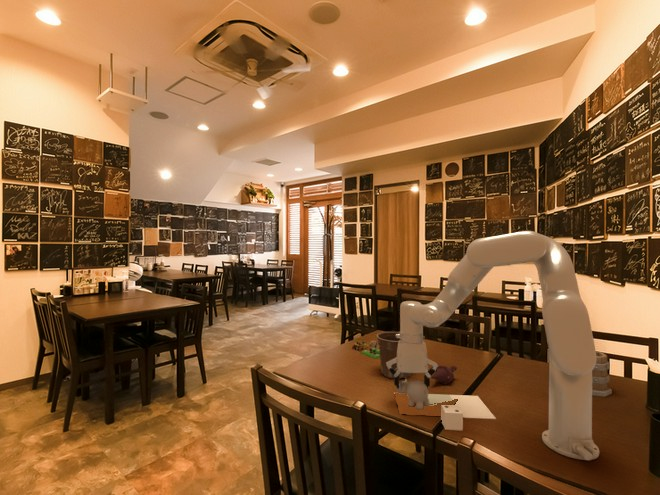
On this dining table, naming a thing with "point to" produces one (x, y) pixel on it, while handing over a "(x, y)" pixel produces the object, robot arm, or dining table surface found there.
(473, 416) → the game mat
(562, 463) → the dining table surface
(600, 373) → the tankard
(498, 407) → the dining table surface
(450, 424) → the die
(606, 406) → the dining table surface
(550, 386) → the robot arm
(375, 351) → the toy garden set
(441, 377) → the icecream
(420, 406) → the round bodied animal figurine
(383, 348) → the plant pot
